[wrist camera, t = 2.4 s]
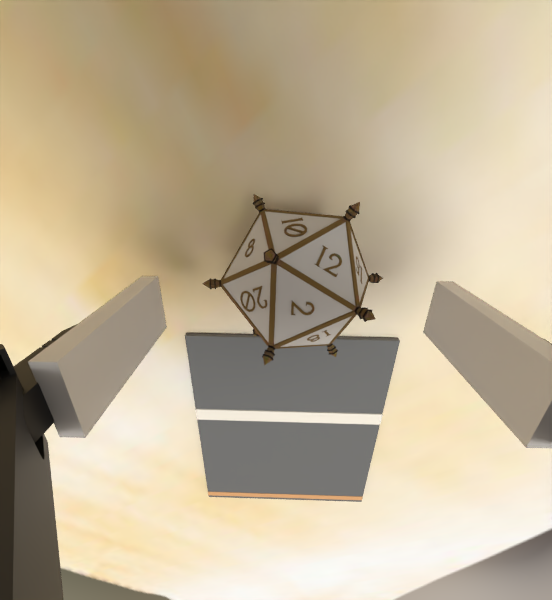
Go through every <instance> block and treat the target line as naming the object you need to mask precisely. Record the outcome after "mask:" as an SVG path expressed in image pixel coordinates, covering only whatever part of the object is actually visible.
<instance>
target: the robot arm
mask: <svg viewBox="0 0 552 600" xmlns="http://www.w3.org/2000/svg"><path fill="white" fill-rule="evenodd" d="M166 327H167V326H166V320H165V314H164V308H163V302H162V296H161V290H160V285H159V279H158V276H141V277H140V278H139V279H137V280H136V281H135V282H133V283H132V284H131V285H129V286H128V287H127V288H125V289H124V290H123V291H121V292H120V293H119V294H117V295H116V296H115V297H113V298H112V299H111V300H109V301H108V302H107V303H105V304H104V305H103V306H101V307H100V308H99V309H97V310H96V311H95V312H93V313H92V314H91V315H89V316H88V317H87V318H85V319H84V320H83V321H81V322H80V323H79V324H77V325H74V326H72V327H70V328H68V329H66V330H63V331H62V332H61V333H59V334H58V335H56V336H55V337H54V338H52V340H51V341H48V342H47V343H45V344H44V345H43V346H42V348H39V349H37V350H36V351H34V352H33V353H32V354H30V355H29V356H28V357H26V358H25V359H23V360H22V361H21V362H19V363H18V364H17V365H15V366H14V367H13V365H12V363H11V360H10V358H9V356H8V354H7V352H6V349H5V348H4V346H3V345H2V344H0V600H63V590H62V580H61V571H60V560H59V550H58V540H57V530H56V520H55V510H54V501H53V491H52V481H51V471H50V461H49V451H48V442H47V440H46V437H45V435H44V433H45V431H46V430H47V429H48V428H49V427H50V426H51V425H52V424H53V423H54V424H55V427H56V429H57V432H58V434H59V436H60V437H79V438H85V437H86V436H87V435H88V433H89V432H90V430H91V429H92V428H93V426H94V425H95V424H96V422H97V421H98V420H99V418H100V417H101V416H102V414H103V413H104V411H105V410H106V409H107V407H108V406H109V405H110V403H111V402H112V401H113V399H114V398H115V397H116V395H117V394H118V392H119V391H120V390H121V388H122V387H123V386H124V384H125V383H126V382H127V380H128V379H129V377H130V376H131V375H132V373H133V372H134V371H135V369H136V368H137V367H138V365H139V364H140V363H141V361H142V360H143V358H144V357H145V356H146V354H147V353H148V352H149V350H150V349H151V348H152V346H153V345H154V344H155V342H156V341H157V339H158V338H159V337H160V335H161V334H162V333H163V331H164V330H165V329H166ZM423 332H424V333H425V335H426V336H427V337H428V338H429V339H430V340H431V341H432V342H433V344H434V345H435V346H436V347H437V348H438V349H439V350H440V351H441V353H442V354H443V355H444V356H445V357H446V358H447V359H448V360H449V362H450V363H451V364H452V365H453V366H454V367H455V368H456V369H457V371H458V372H459V373H460V374H461V375H462V376H463V377H464V378H465V380H466V381H467V382H468V383H469V384H470V385H471V386H472V387H473V389H474V390H475V391H476V392H477V393H478V394H479V395H480V396H481V398H482V399H483V400H484V401H485V402H486V403H487V404H488V405H489V407H490V408H491V409H492V410H493V411H494V412H495V413H496V414H497V415H498V417H499V418H500V419H501V420H502V421H503V422H504V423H505V424H506V426H507V427H508V428H509V429H510V430H511V431H512V432H513V433H514V435H515V436H516V437H517V438H518V439H519V440H520V441H521V442H522V444H523V445H524V446H525V447H526V448H552V344H551V343H550V342H548V341H547V340H545V339H543V338H541V337H539V336H538V335H536V334H535V333H533V332H531V331H530V330H528V329H527V328H525V327H524V326H522V325H520V324H519V323H517V322H516V321H514V320H513V319H511V318H509V317H508V316H506V315H505V314H503V313H502V312H500V311H498V310H497V309H495V308H494V307H492V306H491V305H489V304H487V303H486V302H484V301H483V300H481V299H480V298H478V297H476V296H475V295H473V294H472V293H470V292H469V291H467V290H465V289H464V288H462V287H461V286H459V285H458V284H456V283H454V282H449V281H437V282H436V285H435V289H434V293H433V297H432V301H431V304H430V308H429V312H428V316H427V319H426V323H425V327H424V331H423Z"/></svg>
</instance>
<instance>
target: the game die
mask: <svg viewBox="0 0 552 600" xmlns="http://www.w3.org/2000/svg"><path fill="white" fill-rule="evenodd" d="M262 199H263V198H260V197H258V196H257V195H255V194H254V202H253V205H255V208H257V209H258V210H259V214H258V216H257V218H256V220H255V221H254V223H253V225H252V227H251V228H250V230H249V232H248V234H247V235H246V237H245V239H244V241H243V242H242V244H241V246H240V248H239V249H238V251H237V253H236V255H235V256H234V258H233V260H232V262H231V263H230V265H229V267H228V269H227V270H226V272H225V274H224V276H223V277H222V279H221V280H216V279H210V280H208V281H206V282H205V283H203V284H204V285H205V286H207V287H209V288H210V289H211V288H215V289H216V288H217V287H222V289H223V290H224V291H225V292H226V294H227V295H228V296H229V297H230V299H231V300H232V301H233V303H234V304H235V305H236V306H237V308H238V309H239V310H240V312H241V313H242V314H243V315H244V317H245V318H246V319H247V320H248V322H249V323H250V324H251V326H252V327H253V328H254V329H253V334H254V336H260V337H261V338H262V340H263V341H264V342H265V344H266V345H267V346H268V348H267V349H266V350H265V351H264V354H263V356H262V358H263V361H264V366H265V365H266V364H267V363H269V362H270V361H273V360H274V359H273V356H275V354H274V350H275V349H282V348H297V347H312V346H327V348H328V349H327V351H328V352H329V355H332V356H334V357H336V355H337V351H338V350H337V349H336V346H334V345H333V344H332V343H333V342H334V341H335V339H336V338H337V337H338V336H339V335H340V334H341V332H342V331H343V330H344V329H345V328H346V327H347V325H348V324H349V323H350V322H351V321H352V319H353V318H354V317H355V316H356V315H358V316H359V317H360V319H364V321H365V322H366V321H367V320H373V319H375V317H374V315H373V313H372V310H368V308H361V305H362V301H363V298H364V295H365V292H366V288H367V285H368V282H369V281H370V282H372V283H378V282H379V281H380V280H381V279H383V278H382V277H381V276H379V275H378V274H377V273H376V274H373V273H372V274H371V275H368V273H367V270H366V267H365V264H364V261H363V258H362V256H361V253H360V250H359V247H358V244H357V241H356V238H355V235H354V233H353V230H352V227H351V224H350V220H351V219H352V218H355V216H356V215H357V214H359V205H360V202H358V203H356V204H354V205H352V206H351V205H350V206H349V209H348V210H346V214H345V216H333V215H322V214H311V213H300V212H289V211H278V210H267V209H265V207H264V204H265V203H263V201H262Z"/></svg>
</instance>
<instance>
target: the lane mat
mask: <svg viewBox="0 0 552 600" xmlns="http://www.w3.org/2000/svg"><path fill="white" fill-rule="evenodd" d="M185 339H186V346H187V352H188V359H189V366H190V373H191V380H192V386H193V393H194V400H195V407H196V409H195V410H196V416H197V420H198V427H199V434H200V440H201V447H202V454H203V461H204V467H205V474H206V481H207V488H208V495H209V497H233V498H264V499H295V500H325V501H356V502H361V501H362V496H363V492H364V488H365V484H366V480H367V476H368V471H369V467H370V463H371V459H372V455H373V450H374V446H375V442H376V438H377V434H378V430H379V425H380V424H381V420H382V415H383V414H382V413H383V409H384V405H385V400H386V396H387V392H388V388H389V384H390V379H391V375H392V371H393V367H394V363H395V359H396V354H397V350H398V346H399V342H400V341H399V339H398V338H381V337H339V336H338V337H337V338H336V339H335V341H334V342H333V343H332V344H333V345H334V346H336V349H337V350H338V351H337V355H336V357H334V356H332V355H329V352H328V351H327V349H328V348H327V346H312V347H297V348H282V349H275V350H274V354H275V356H273V359H274V360H273V361H270V362H269V363H267V364H266V365H265V366H264V361H263V358H262V356H263V354H264V351H265V350H266V349H267V348H268V346H267V345H266V344H265V342H264V341H263V340H262V338H261V337H260V336H254V334H212V333H186V335H185Z"/></svg>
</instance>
